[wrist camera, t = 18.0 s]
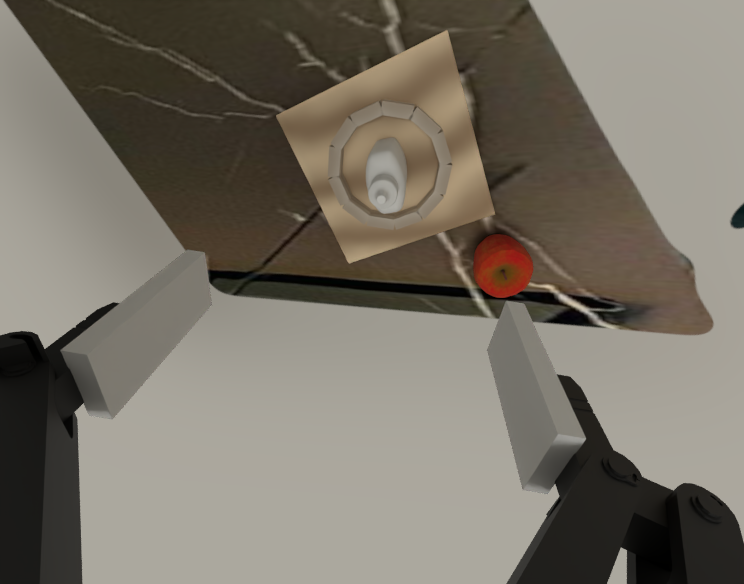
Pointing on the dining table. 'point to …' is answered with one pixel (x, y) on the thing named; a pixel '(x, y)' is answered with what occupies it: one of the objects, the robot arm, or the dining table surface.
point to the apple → (502, 266)
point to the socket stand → (413, 132)
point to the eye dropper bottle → (386, 175)
